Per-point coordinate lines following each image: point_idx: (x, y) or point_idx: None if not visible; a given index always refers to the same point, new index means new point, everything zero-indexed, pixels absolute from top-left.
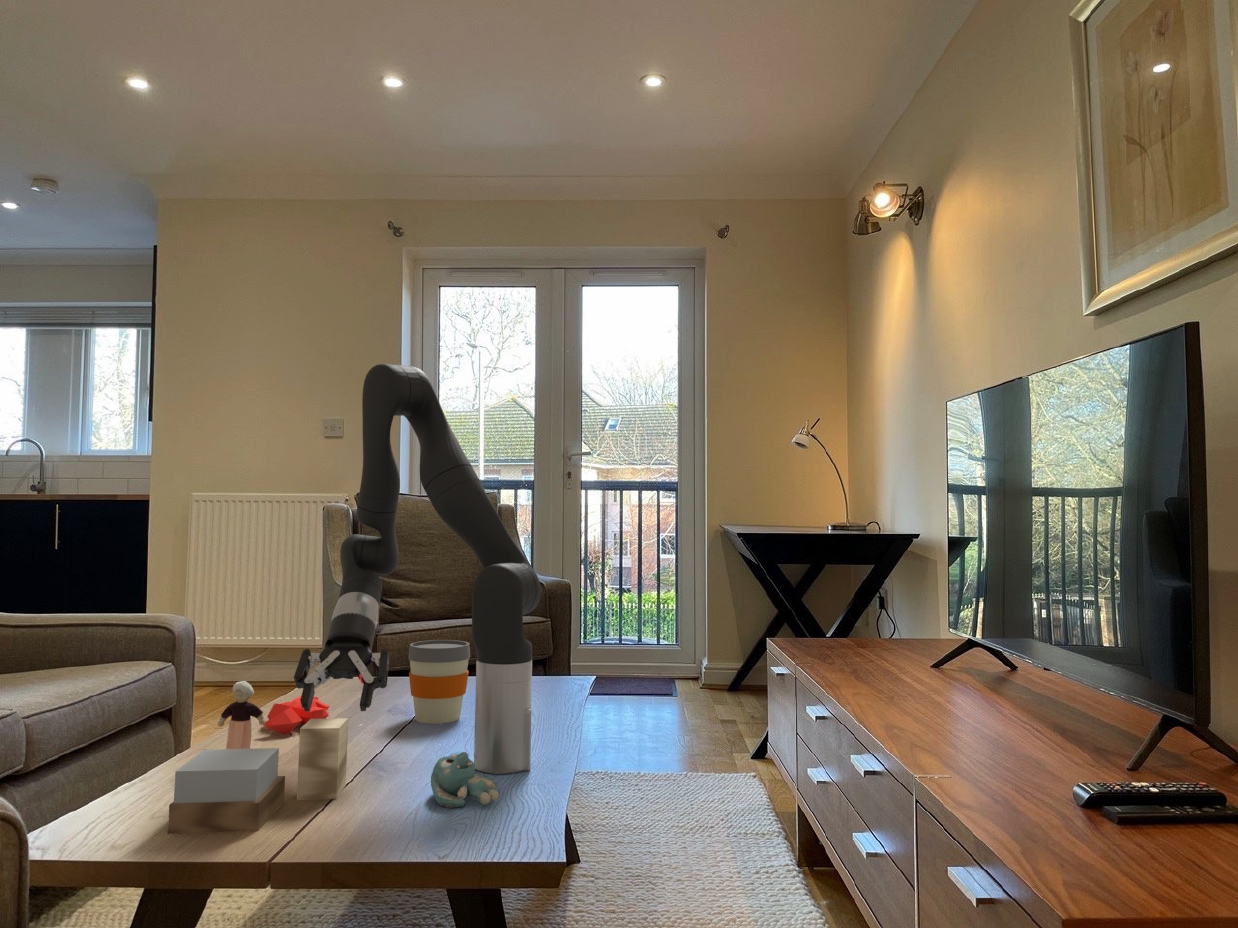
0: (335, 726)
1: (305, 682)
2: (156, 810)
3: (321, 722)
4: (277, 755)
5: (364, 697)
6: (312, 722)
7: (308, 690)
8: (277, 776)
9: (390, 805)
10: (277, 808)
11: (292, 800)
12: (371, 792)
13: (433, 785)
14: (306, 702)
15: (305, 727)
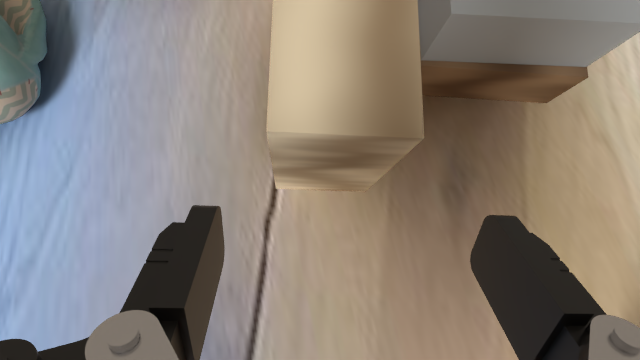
0: (293, 6)
1: (625, 323)
2: (611, 75)
3: (363, 71)
4: (442, 15)
5: (188, 225)
6: (398, 75)
7: (550, 275)
8: (421, 59)
9: (155, 41)
10: None
11: None
12: (206, 129)
13: (33, 25)
14: (502, 219)
15: (402, 6)
